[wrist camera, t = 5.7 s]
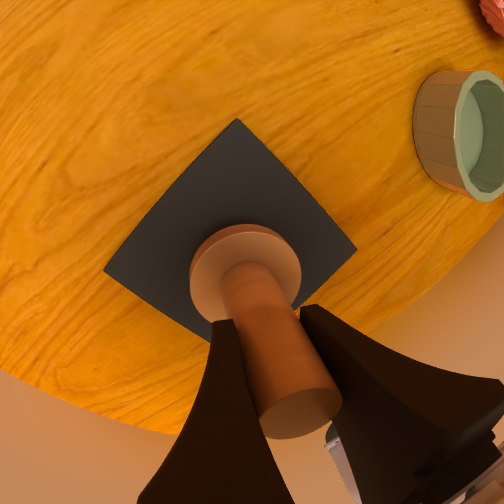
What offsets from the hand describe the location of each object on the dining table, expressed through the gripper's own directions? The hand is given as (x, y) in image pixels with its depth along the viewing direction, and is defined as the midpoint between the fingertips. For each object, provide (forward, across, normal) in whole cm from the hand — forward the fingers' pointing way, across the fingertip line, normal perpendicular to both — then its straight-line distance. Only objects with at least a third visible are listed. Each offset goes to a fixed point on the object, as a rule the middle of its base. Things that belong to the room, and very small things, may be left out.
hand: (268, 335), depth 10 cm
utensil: (+4, 0, 0) cm, 4 cm away
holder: (+6, -15, -7) cm, 18 cm away
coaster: (+6, 0, 0) cm, 6 cm away
